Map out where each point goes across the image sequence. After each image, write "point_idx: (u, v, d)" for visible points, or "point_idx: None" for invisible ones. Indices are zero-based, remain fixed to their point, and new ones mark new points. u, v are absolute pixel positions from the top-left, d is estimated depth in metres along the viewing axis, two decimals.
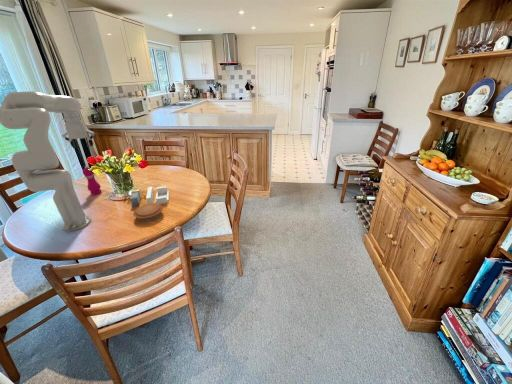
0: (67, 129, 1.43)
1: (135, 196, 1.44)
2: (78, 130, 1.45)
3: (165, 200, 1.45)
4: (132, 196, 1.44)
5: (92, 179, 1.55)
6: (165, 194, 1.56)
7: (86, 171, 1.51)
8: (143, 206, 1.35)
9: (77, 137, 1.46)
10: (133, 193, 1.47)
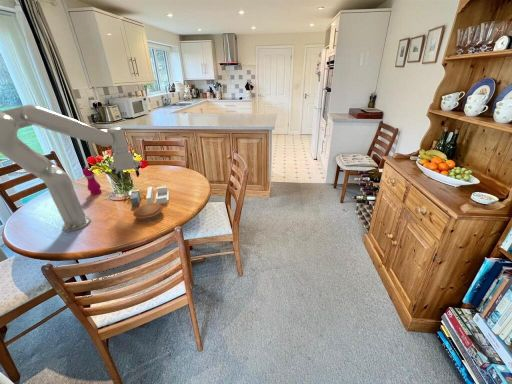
0: (115, 161, 1.33)
1: (135, 196, 1.44)
2: (126, 161, 1.35)
3: (165, 200, 1.45)
4: (132, 196, 1.44)
5: (92, 179, 1.55)
6: (165, 194, 1.56)
7: (86, 171, 1.51)
8: (143, 206, 1.35)
9: (125, 168, 1.36)
10: (133, 193, 1.47)
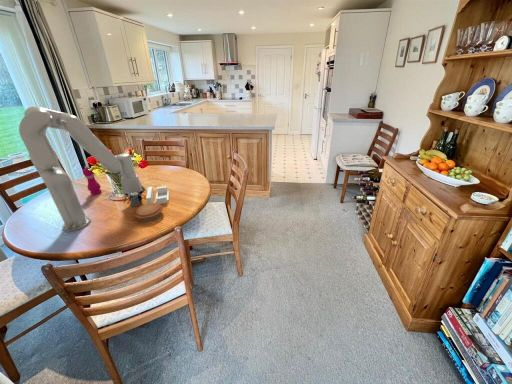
0: (123, 185, 1.39)
1: (135, 196, 1.44)
2: (133, 185, 1.41)
3: (165, 200, 1.45)
4: (132, 196, 1.44)
5: (92, 179, 1.55)
6: (165, 194, 1.56)
7: (86, 171, 1.51)
8: (143, 206, 1.35)
9: (132, 192, 1.43)
10: (133, 193, 1.47)
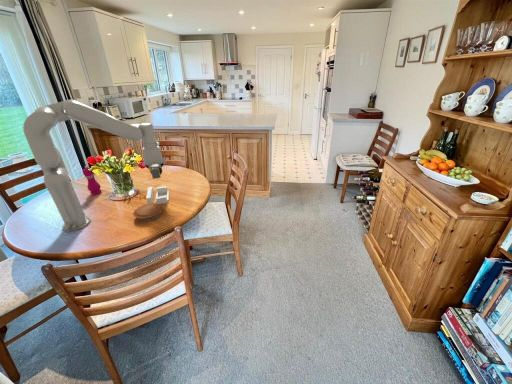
0: None
1: (153, 164, 1.46)
2: None
3: (165, 200, 1.45)
4: (156, 164, 1.46)
5: (92, 179, 1.55)
6: (165, 194, 1.56)
7: (86, 171, 1.51)
8: (143, 206, 1.35)
9: None
10: (156, 167, 1.42)
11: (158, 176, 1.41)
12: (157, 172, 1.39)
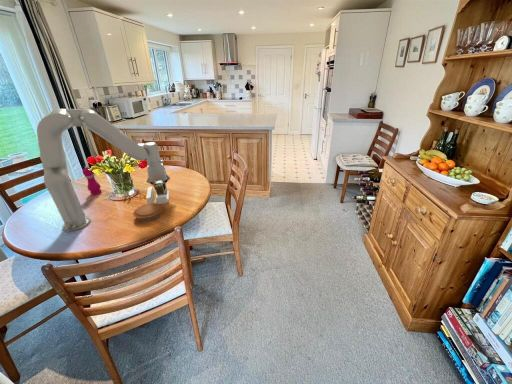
0: None
1: None
2: None
3: (165, 200, 1.45)
4: None
5: (92, 179, 1.55)
6: (165, 194, 1.56)
7: (86, 171, 1.51)
8: (143, 206, 1.35)
9: None
10: (160, 183, 1.47)
11: (162, 192, 1.46)
12: (161, 189, 1.45)
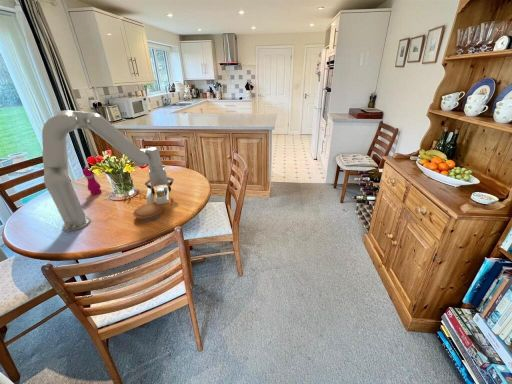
0: None
1: (159, 187, 1.53)
2: None
3: (165, 200, 1.45)
4: (161, 187, 1.53)
5: (92, 179, 1.55)
6: None
7: (86, 171, 1.51)
8: (143, 206, 1.35)
9: None
10: (161, 190, 1.49)
11: None
12: (162, 195, 1.47)
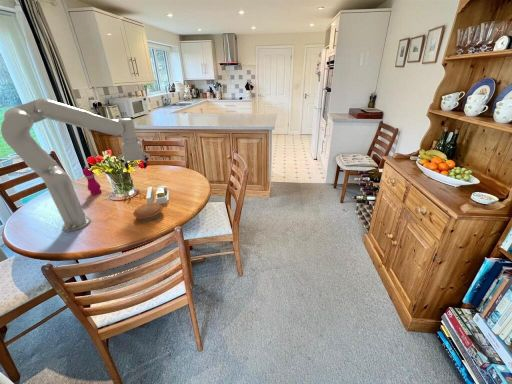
0: None
1: (159, 187, 1.53)
2: None
3: (165, 200, 1.45)
4: (161, 187, 1.53)
5: (92, 179, 1.55)
6: None
7: (86, 171, 1.51)
8: (143, 206, 1.35)
9: None
10: (161, 190, 1.49)
11: None
12: (162, 195, 1.47)
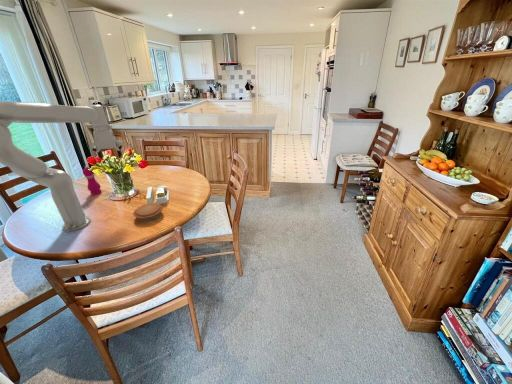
0: None
1: (159, 187, 1.53)
2: None
3: (165, 200, 1.45)
4: (161, 187, 1.53)
5: (92, 179, 1.55)
6: None
7: (86, 171, 1.51)
8: (143, 206, 1.35)
9: None
10: (161, 190, 1.49)
11: None
12: (162, 195, 1.47)
